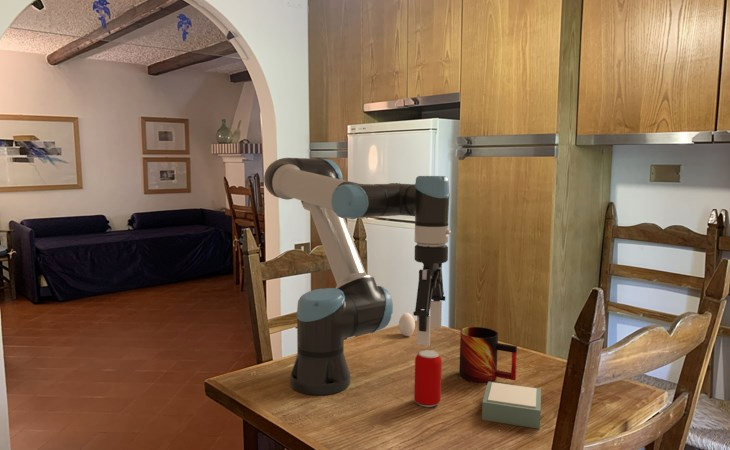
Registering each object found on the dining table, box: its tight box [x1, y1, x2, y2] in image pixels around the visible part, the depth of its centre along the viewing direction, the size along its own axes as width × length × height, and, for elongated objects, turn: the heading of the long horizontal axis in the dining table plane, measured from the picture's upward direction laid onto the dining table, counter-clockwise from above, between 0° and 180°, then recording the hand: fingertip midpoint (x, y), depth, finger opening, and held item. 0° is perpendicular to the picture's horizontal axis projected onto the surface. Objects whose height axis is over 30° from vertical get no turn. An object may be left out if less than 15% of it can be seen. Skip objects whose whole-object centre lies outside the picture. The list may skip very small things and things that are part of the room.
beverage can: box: [413, 349, 443, 408], centre depth 123 cm, size 6×6×12 cm
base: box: [481, 381, 542, 430], centre depth 119 cm, size 12×12×4 cm
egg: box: [398, 312, 416, 337], centre depth 173 cm, size 5×5×8 cm
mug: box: [458, 326, 518, 385], centre depth 139 cm, size 10×14×12 cm
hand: (429, 335), depth 122 cm, fingers open, 13 cm apart
